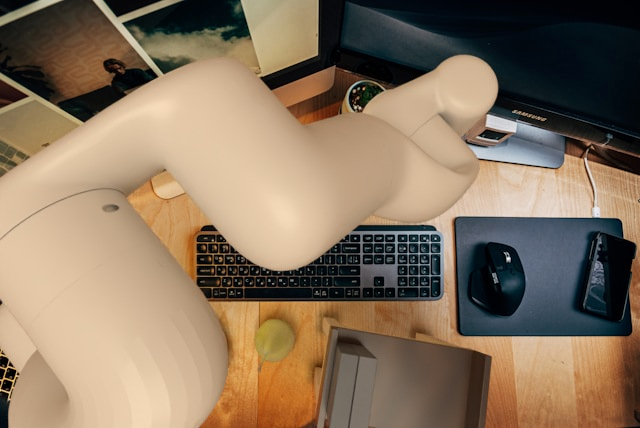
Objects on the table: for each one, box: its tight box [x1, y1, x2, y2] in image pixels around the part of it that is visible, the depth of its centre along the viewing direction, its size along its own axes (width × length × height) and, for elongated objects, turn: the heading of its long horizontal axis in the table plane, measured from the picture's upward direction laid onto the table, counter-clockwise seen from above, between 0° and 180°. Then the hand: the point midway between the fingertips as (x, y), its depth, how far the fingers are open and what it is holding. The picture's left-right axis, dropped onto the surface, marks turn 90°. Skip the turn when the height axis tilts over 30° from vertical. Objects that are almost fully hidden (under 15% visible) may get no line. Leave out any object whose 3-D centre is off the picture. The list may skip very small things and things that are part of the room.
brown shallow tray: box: [315, 326, 493, 428], centre depth 53 cm, size 19×11×5 cm, turn 80°
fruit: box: [253, 318, 297, 374], centre depth 71 cm, size 7×8×12 cm
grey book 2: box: [348, 344, 378, 428], centre depth 49 cm, size 2×8×10 cm, turn 170°
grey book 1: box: [326, 342, 359, 428], centre depth 49 cm, size 2×8×10 cm, turn 171°
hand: (402, 164), depth 77 cm, fingers closed on box, 5 cm apart
